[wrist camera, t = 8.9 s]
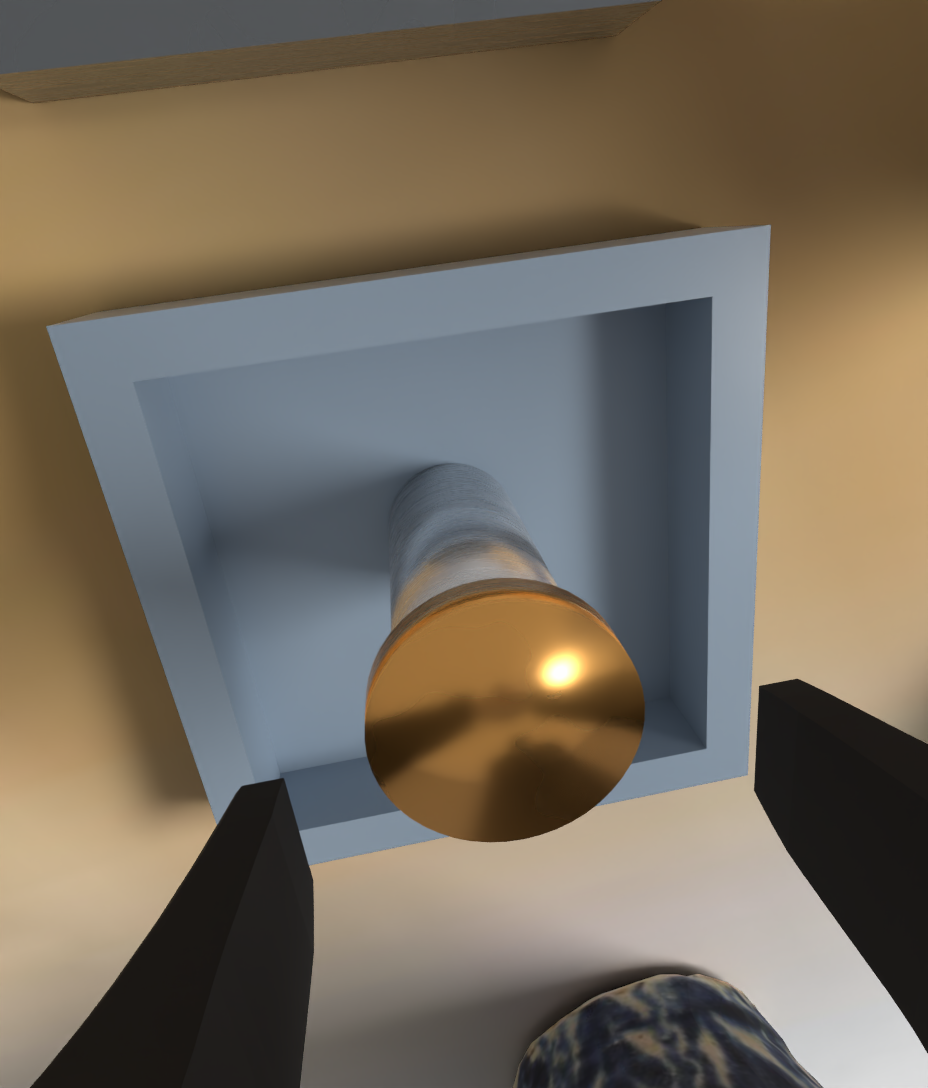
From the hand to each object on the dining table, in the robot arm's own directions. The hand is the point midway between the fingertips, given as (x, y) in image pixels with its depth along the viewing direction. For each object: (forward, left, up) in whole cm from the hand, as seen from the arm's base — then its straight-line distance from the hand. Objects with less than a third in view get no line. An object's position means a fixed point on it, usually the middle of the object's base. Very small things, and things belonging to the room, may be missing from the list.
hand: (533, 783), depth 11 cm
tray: (0, 0, -9) cm, 9 cm away
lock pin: (0, -1, -9) cm, 9 cm away
